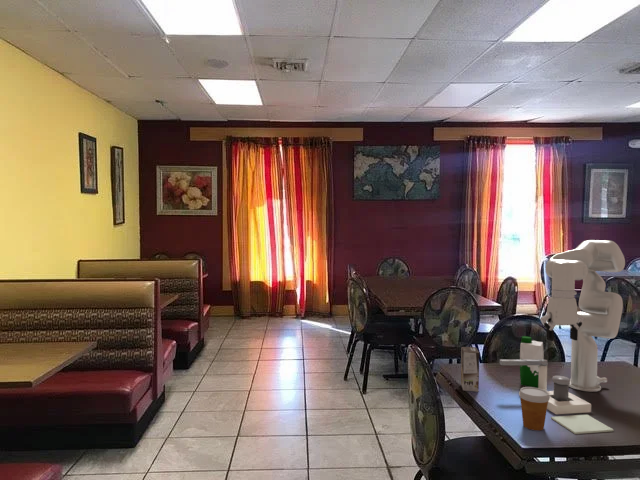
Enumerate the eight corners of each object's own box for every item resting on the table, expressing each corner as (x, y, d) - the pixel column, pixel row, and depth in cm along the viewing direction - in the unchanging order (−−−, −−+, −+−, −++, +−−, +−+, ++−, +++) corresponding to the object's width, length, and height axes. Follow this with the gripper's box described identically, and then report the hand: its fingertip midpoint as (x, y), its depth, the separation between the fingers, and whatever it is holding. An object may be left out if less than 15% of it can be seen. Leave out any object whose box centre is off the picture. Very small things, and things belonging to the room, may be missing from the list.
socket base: (554, 391, 187) (554, 362, 187) (591, 412, 167) (591, 379, 166) (522, 393, 185) (523, 364, 185) (555, 414, 165) (556, 381, 164)
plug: (562, 402, 176) (563, 375, 176) (573, 408, 170) (573, 380, 170) (548, 403, 175) (549, 376, 175) (558, 409, 169) (559, 381, 169)
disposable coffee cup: (512, 421, 159) (513, 386, 159) (539, 420, 160) (539, 386, 160) (527, 433, 150) (528, 397, 149) (555, 432, 150) (556, 396, 150)
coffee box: (479, 392, 187) (479, 352, 186) (462, 390, 188) (463, 351, 187) (476, 384, 196) (476, 346, 195) (460, 383, 197) (461, 346, 196)
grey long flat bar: (545, 363, 185) (545, 359, 185) (548, 365, 182) (549, 361, 181) (499, 363, 185) (499, 359, 185) (502, 365, 181) (502, 361, 181)
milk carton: (521, 379, 202) (522, 334, 201) (544, 383, 197) (545, 337, 196) (518, 385, 195) (518, 338, 194) (541, 389, 190) (542, 341, 189)
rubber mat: (587, 416, 163) (587, 414, 163) (613, 431, 151) (613, 429, 151) (551, 418, 161) (551, 416, 161) (574, 434, 149) (575, 432, 149)
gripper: (576, 292, 176) (575, 336, 177) (535, 293, 174) (534, 338, 174) (591, 295, 169) (590, 341, 169) (548, 296, 166) (547, 343, 167)
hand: (561, 339), depth 172 cm, fingers open, 9 cm apart
